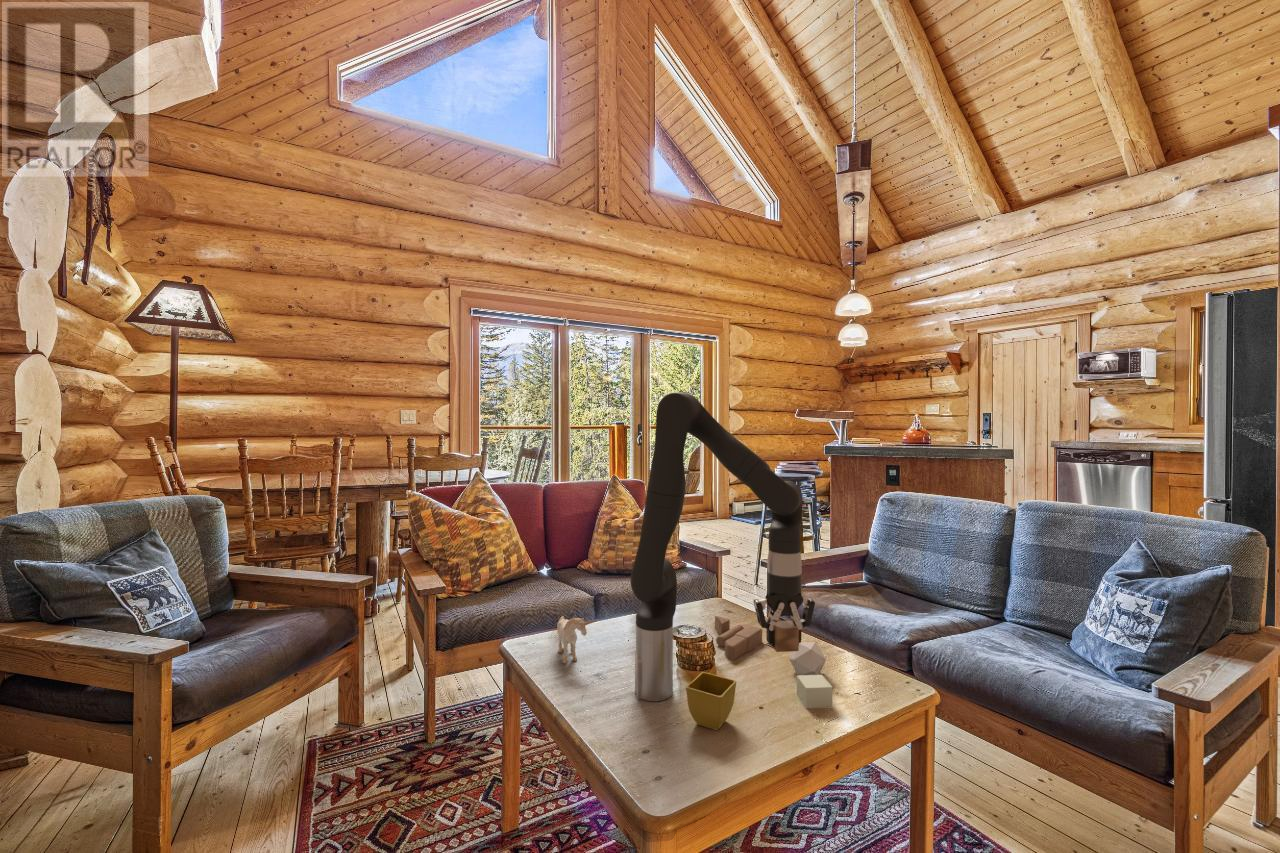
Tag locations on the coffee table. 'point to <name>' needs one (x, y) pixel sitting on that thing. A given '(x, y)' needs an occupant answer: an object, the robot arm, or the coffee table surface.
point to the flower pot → (710, 699)
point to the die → (807, 659)
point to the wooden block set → (736, 637)
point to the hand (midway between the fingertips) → (783, 644)
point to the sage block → (814, 691)
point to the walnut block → (786, 637)
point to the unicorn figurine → (570, 634)
